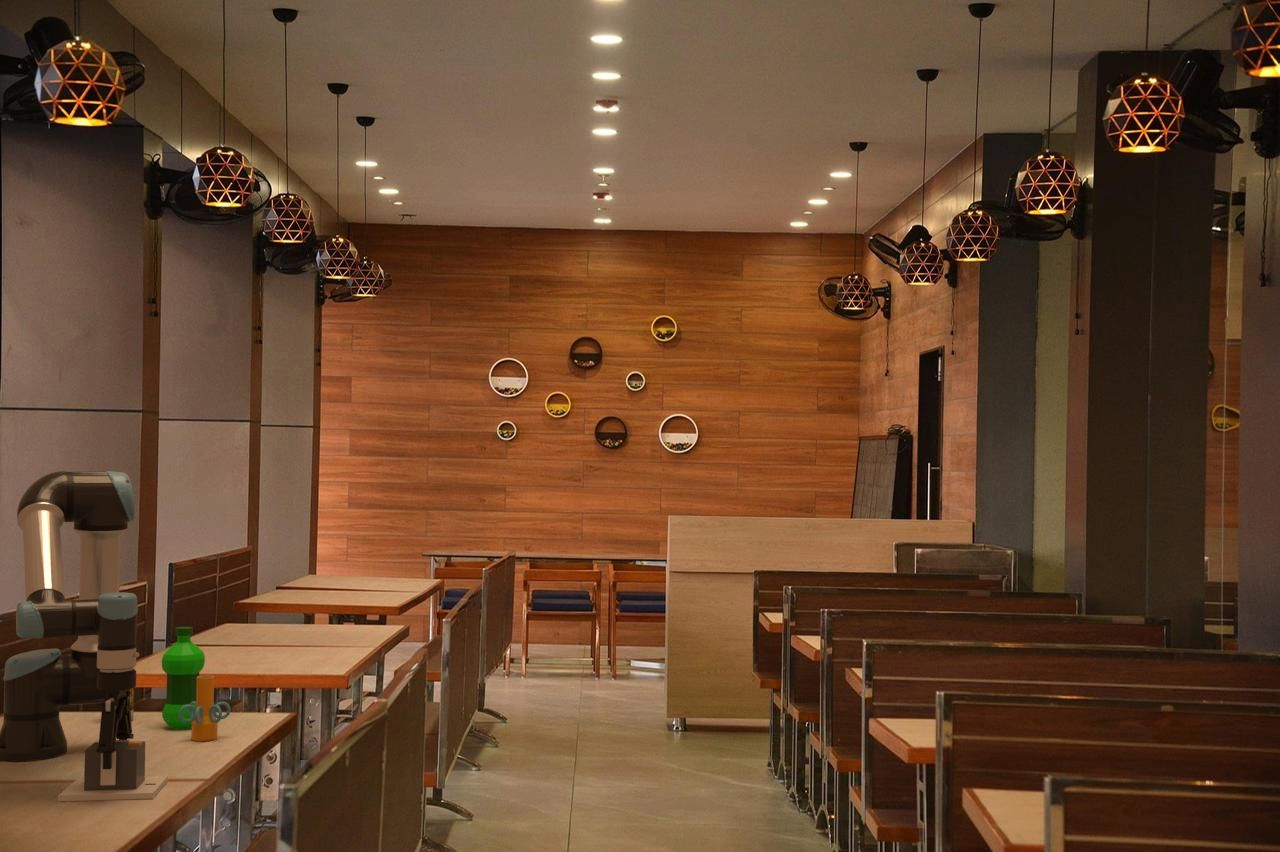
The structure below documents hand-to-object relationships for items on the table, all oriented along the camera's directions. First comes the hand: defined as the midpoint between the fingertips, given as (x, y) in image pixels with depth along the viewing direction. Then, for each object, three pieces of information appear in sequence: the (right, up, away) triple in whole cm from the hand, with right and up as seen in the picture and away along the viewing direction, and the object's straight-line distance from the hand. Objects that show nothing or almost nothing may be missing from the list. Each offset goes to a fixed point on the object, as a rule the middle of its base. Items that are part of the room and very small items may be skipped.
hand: (114, 778), depth 273 cm
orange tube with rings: (+2, -4, +51) cm, 51 cm away
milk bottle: (-27, -4, +72) cm, 77 cm away
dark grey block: (0, -1, 0) cm, 1 cm away
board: (0, -3, 0) cm, 3 cm away
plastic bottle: (-8, -4, +64) cm, 65 cm away
